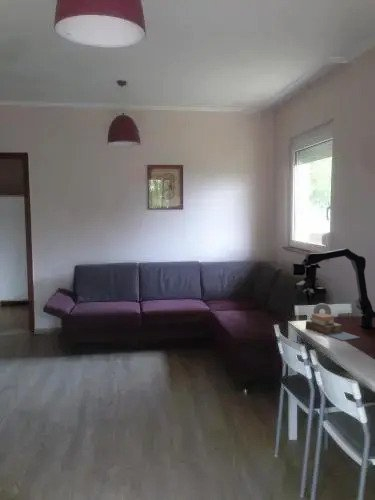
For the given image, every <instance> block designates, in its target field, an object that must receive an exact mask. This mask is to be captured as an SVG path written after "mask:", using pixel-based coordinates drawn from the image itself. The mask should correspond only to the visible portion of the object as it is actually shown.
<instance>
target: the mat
mask: <svg viewBox="0 0 375 500" xmlns="http://www.w3.org/2000/svg"><path fill="white" fill-rule="evenodd" d="M325 336H327V337H330V338H333V339H335V340H338V341H341V342H345V341H349V340H350V341H351V340H357V339H360V338H361V337H360V336H357V335H355V334H351V333H349V332H345V331H342V332H337V333H331V334H326V335H325Z"/></svg>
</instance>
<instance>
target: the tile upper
mask: <svg viewBox="0 0 375 500" xmlns="http://www.w3.org/2000/svg"><path fill="white" fill-rule="evenodd" d="M312 318H313V319H317V320H320V321H329V320H334V321H335V316H334V315H332V314H331V315H328V314H325V312H319V313H318V314H314V313H312V314H311V319H312Z"/></svg>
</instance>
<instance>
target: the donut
mask: <svg viewBox="0 0 375 500" xmlns="http://www.w3.org/2000/svg"><path fill="white" fill-rule="evenodd" d="M321 310H324V313H325V314H328V315H332V309H331V307H330V306H329V305H328V304H327V303H323V302H321V303H318V304H316V305H315V306H314V307H313V310H312V311H313V312H312V313H313V314H318V313H320V311H321Z"/></svg>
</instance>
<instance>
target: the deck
mask: <svg viewBox="0 0 375 500" xmlns="http://www.w3.org/2000/svg"><path fill="white" fill-rule="evenodd" d="M311 321H312V319H311V320H306V321H305V329H306V330H309V331H312V332H315V333H318V334H320V335H324V336H326V334H331V333H337V332H343V324H340V323H337V322H334V324H327V325H321V324H317V323H314V322H311Z"/></svg>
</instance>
